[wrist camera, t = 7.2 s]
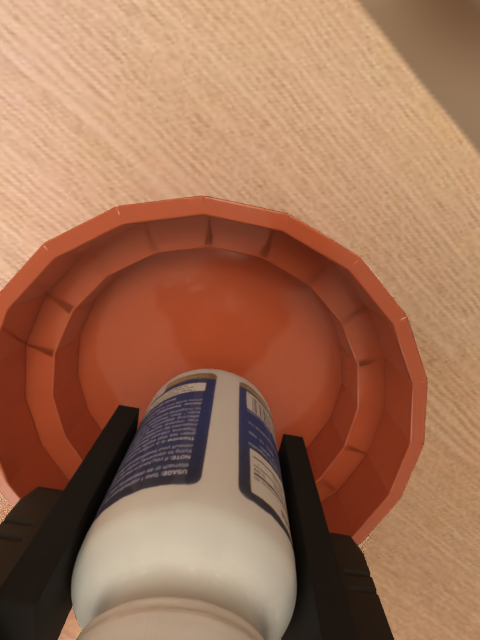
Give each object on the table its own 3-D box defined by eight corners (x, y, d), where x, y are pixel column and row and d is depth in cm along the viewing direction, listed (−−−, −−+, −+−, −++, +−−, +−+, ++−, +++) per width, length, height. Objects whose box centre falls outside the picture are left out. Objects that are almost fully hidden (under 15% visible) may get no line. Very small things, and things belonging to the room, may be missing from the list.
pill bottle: (138, 456, 15) (-26, 836, 6) (162, 350, 14) (-7, 636, 4) (252, 483, 16) (268, 878, 6) (289, 383, 14) (380, 709, 5)
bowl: (421, 245, 17) (503, 259, 12) (323, 522, 22) (350, 618, 17) (53, 167, 16) (-40, 143, 10) (42, 479, 21) (-24, 567, 16)
